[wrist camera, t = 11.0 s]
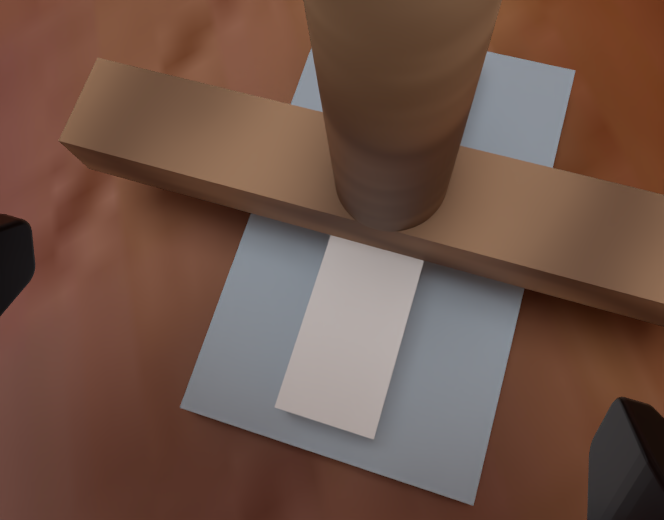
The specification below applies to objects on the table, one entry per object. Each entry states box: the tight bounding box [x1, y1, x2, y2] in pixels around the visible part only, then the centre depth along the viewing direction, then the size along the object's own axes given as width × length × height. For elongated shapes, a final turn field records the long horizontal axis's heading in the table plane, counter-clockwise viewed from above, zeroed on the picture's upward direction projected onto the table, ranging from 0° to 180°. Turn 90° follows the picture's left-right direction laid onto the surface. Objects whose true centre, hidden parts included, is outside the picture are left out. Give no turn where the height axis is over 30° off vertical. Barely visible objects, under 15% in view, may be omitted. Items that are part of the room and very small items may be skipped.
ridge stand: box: [180, 48, 575, 506], centre depth 21 cm, size 16×10×4 cm, turn 163°
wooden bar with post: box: [59, 0, 664, 326], centre depth 13 cm, size 20×3×12 cm, turn 73°
